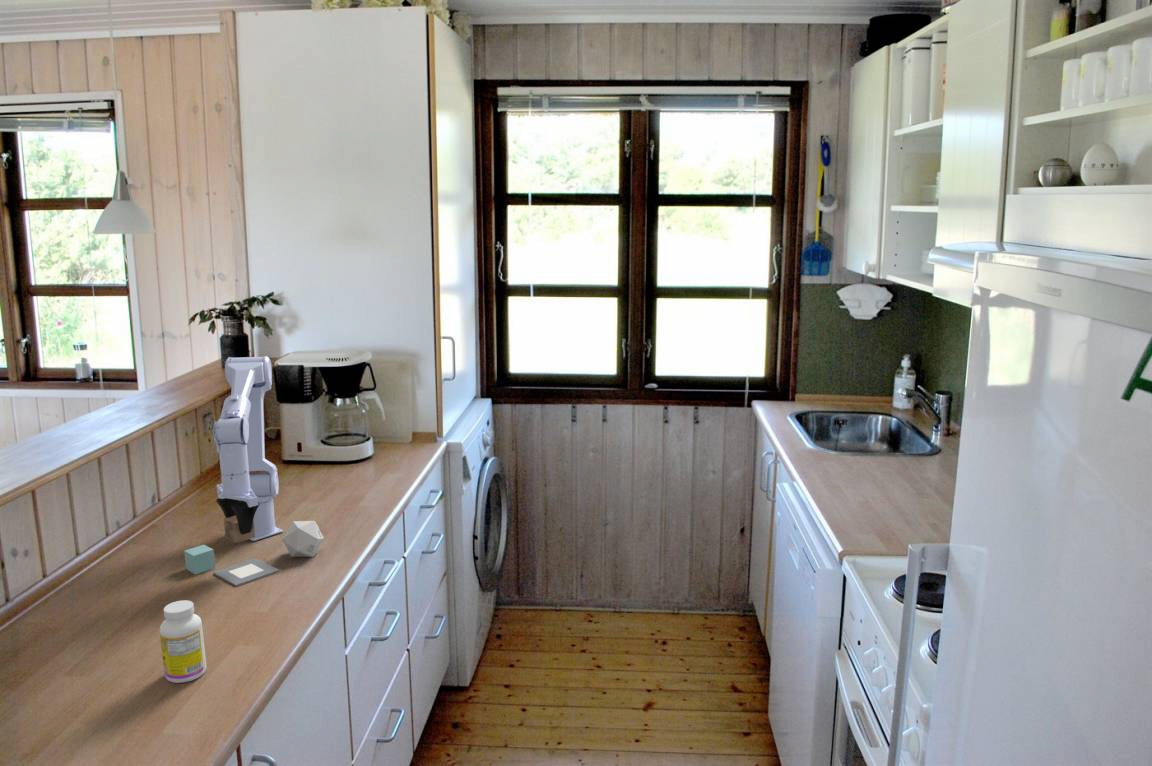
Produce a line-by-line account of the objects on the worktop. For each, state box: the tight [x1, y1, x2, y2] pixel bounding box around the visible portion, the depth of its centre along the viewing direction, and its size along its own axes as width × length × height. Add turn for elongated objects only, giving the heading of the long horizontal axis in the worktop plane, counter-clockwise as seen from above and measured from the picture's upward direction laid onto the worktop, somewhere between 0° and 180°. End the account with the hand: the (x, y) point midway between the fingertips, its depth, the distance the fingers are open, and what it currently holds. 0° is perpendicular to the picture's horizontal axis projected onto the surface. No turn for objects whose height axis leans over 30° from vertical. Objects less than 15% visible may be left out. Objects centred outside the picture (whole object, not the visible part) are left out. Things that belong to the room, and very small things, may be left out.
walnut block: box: [223, 515, 255, 544], centre depth 189 cm, size 4×4×4 cm
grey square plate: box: [213, 557, 280, 587], centre depth 189 cm, size 10×10×1 cm
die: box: [282, 520, 325, 558], centre depth 198 cm, size 8×9×10 cm
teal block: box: [183, 544, 216, 575], centre depth 191 cm, size 4×4×4 cm
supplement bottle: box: [159, 599, 207, 684], centre depth 147 cm, size 7×7×13 cm
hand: (240, 530), depth 189 cm, fingers closed on walnut block, 4 cm apart
